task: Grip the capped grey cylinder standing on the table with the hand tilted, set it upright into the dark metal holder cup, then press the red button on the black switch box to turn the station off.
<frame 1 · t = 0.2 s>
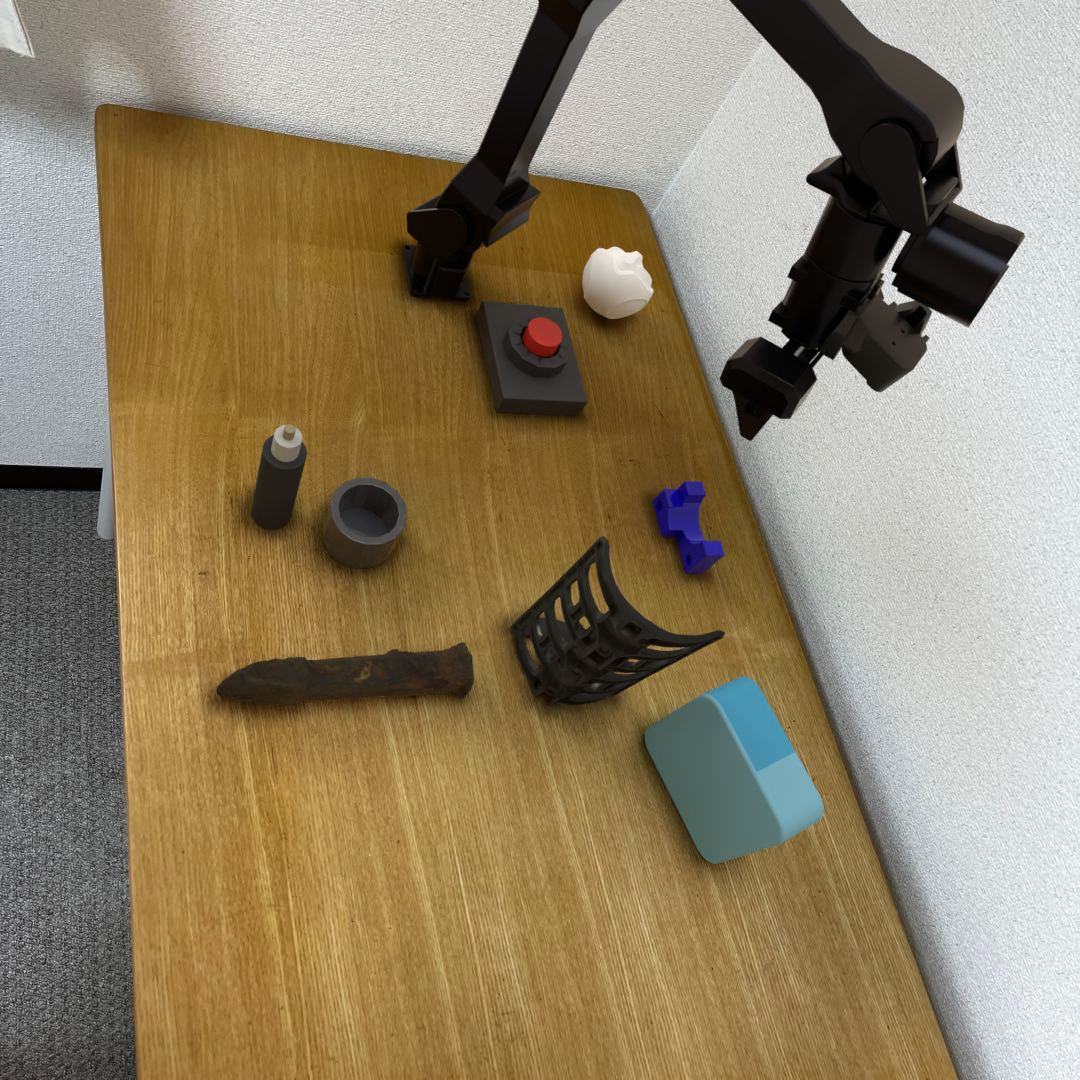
hand: (769, 410, 79), 15 cm above the table, tool pointing down, fingers open, 9 cm apart
cable holder: (676, 537, 89), on the table
data package: (690, 789, 76), on the table
power button: (542, 337, 88), point 5 cm above the table, slide at 0.1 cm
hand tool: (346, 694, 70), on the table
capped grey cylinder: (271, 512, 74), on the table
holder: (556, 675, 77), on the table
iron cup: (358, 535, 76), on the table
switch box: (526, 365, 92), on the table
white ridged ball: (601, 307, 100), on the table
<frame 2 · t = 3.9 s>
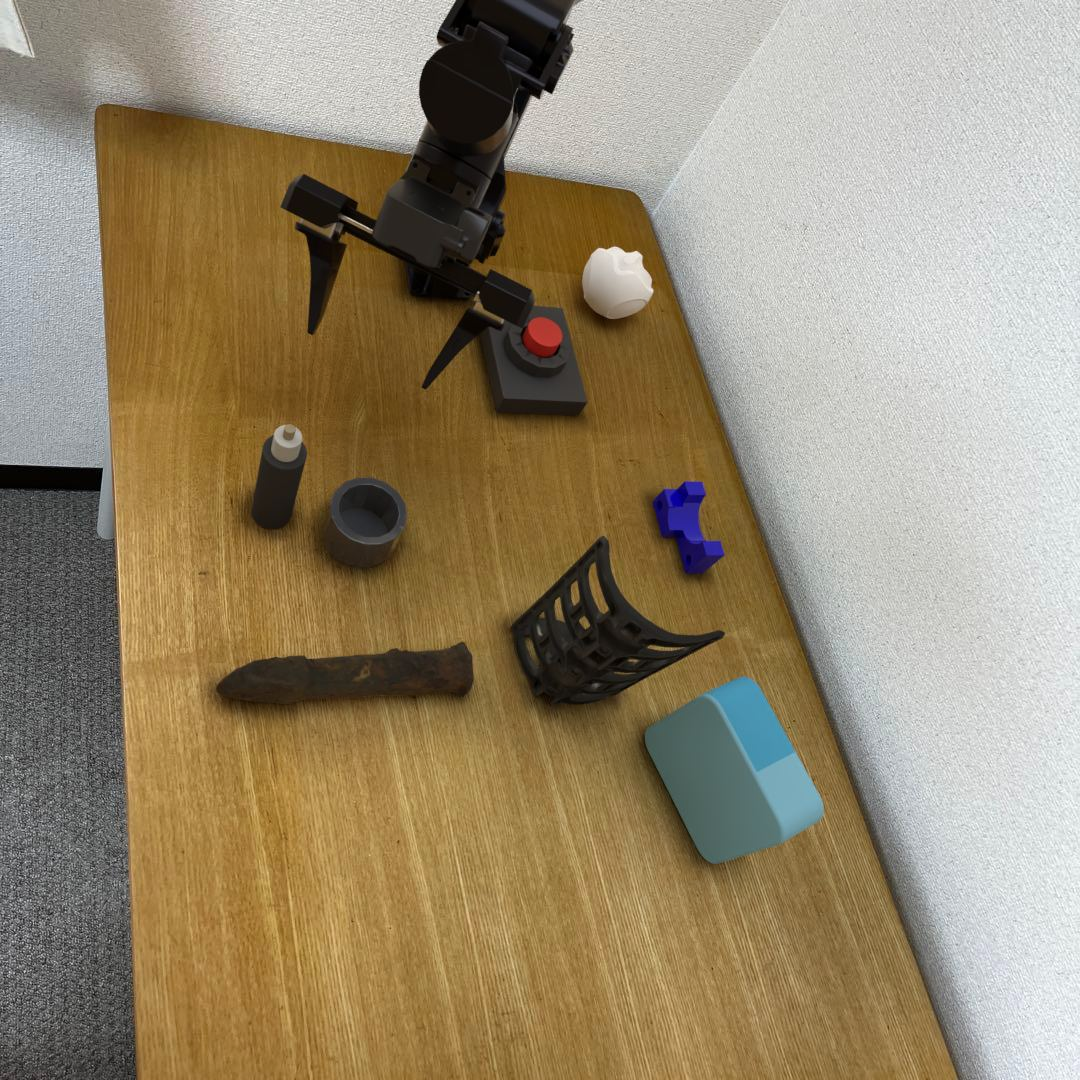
hand: (367, 361, 68), 14 cm above the table, tool tilted 45°, fingers open, 9 cm apart
nothing on the table moved.
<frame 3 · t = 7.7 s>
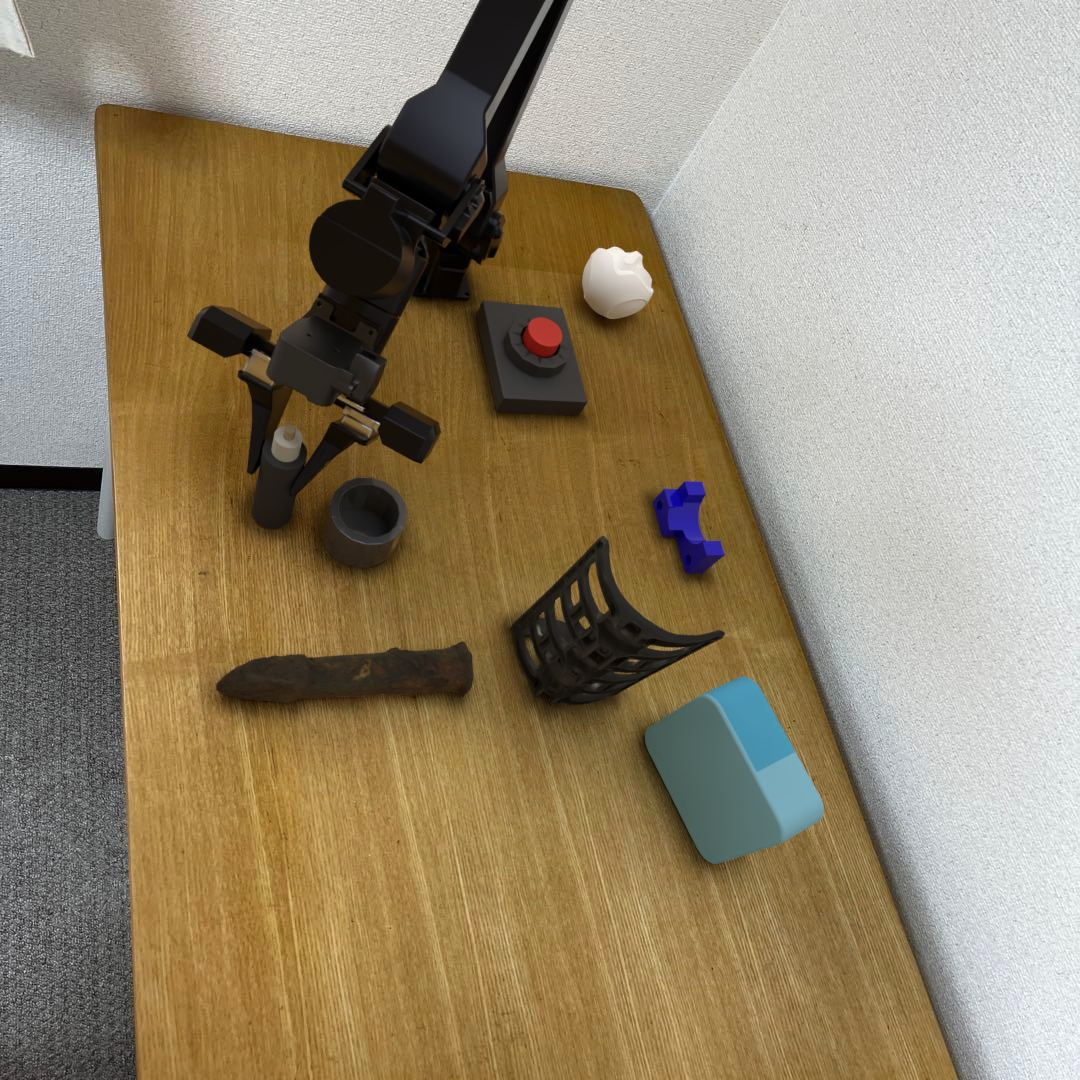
hand: (271, 484, 68), 7 cm above the table, tool tilted 45°, fingers closed on capped grey cylinder, 3 cm apart
capped grey cylinder: (271, 512, 74), on the table, touching gripper
everything else where it was.
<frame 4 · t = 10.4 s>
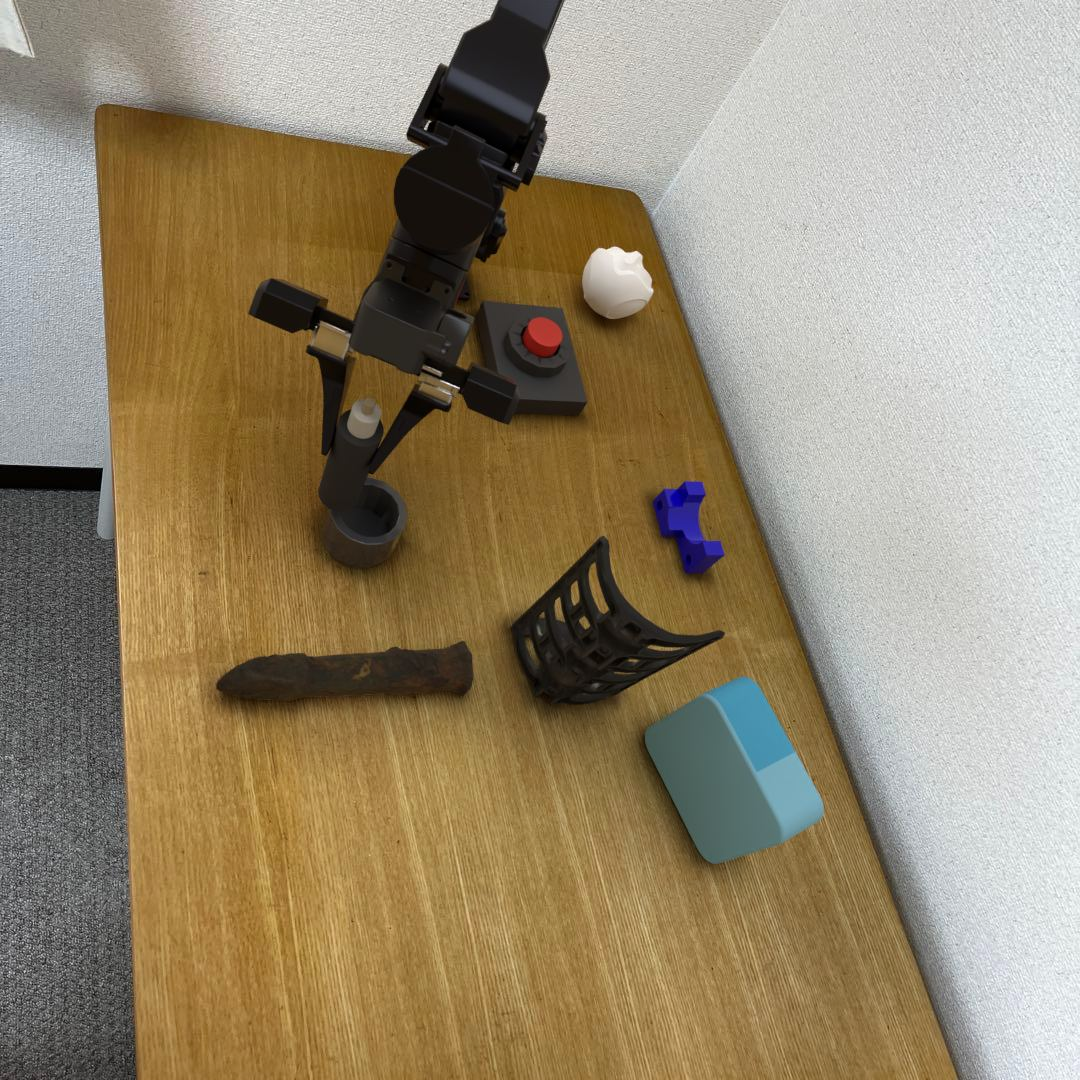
hand: (347, 463, 64), 12 cm above the table, tool tilted 45°, fingers closed on capped grey cylinder, 3 cm apart
capped grey cylinder: (338, 494, 71), point 6 cm above the table, touching gripper
everything else where it was.
when the fingers open (7 cm above the table, at t = 12.9 s): capped grey cylinder stays where it is, resting on iron cup.
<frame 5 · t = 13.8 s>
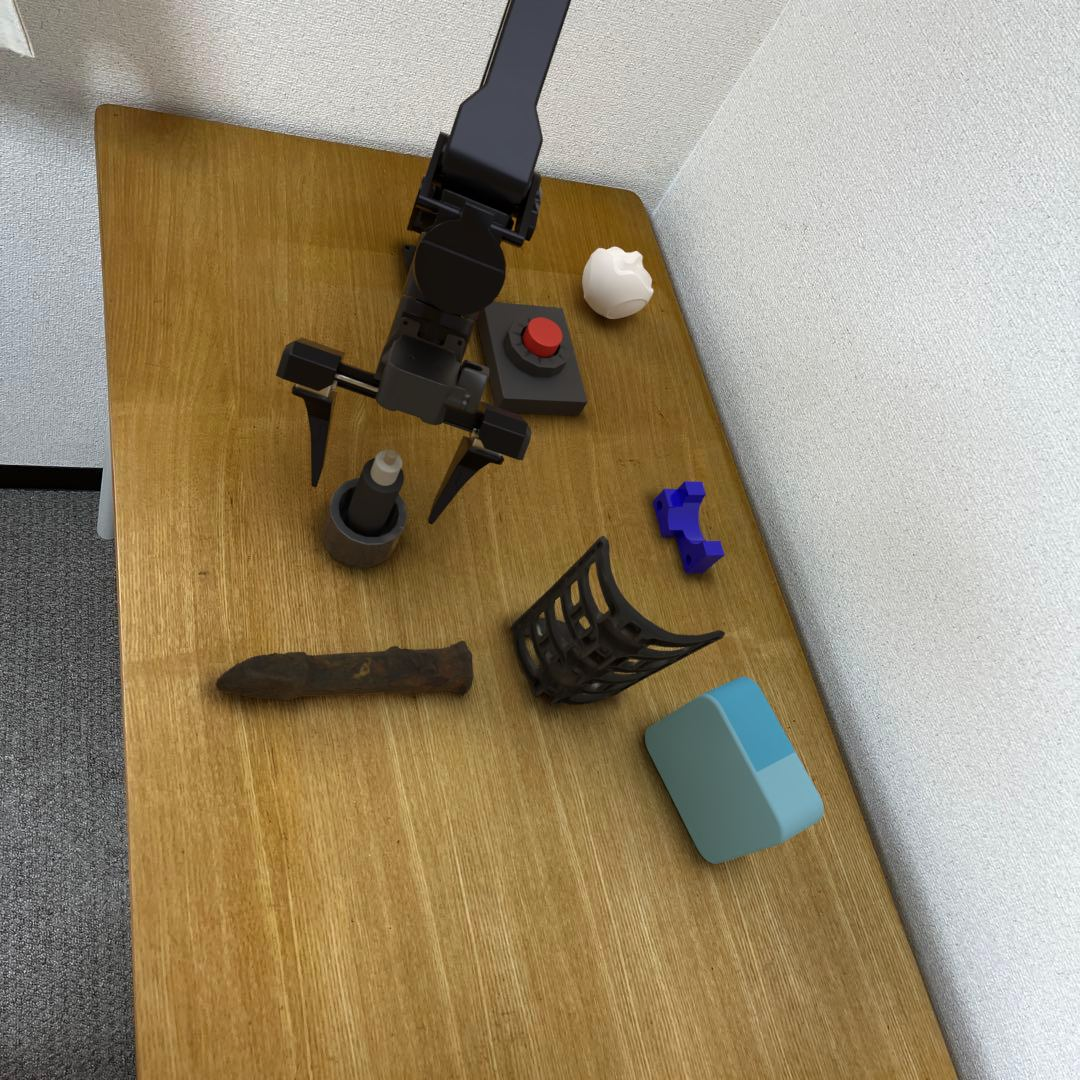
hand: (373, 504, 69), 8 cm above the table, tool tilted 45°, fingers open, 9 cm apart
capped grey cylinder: (360, 532, 76), resting on iron cup
everything else where it was.
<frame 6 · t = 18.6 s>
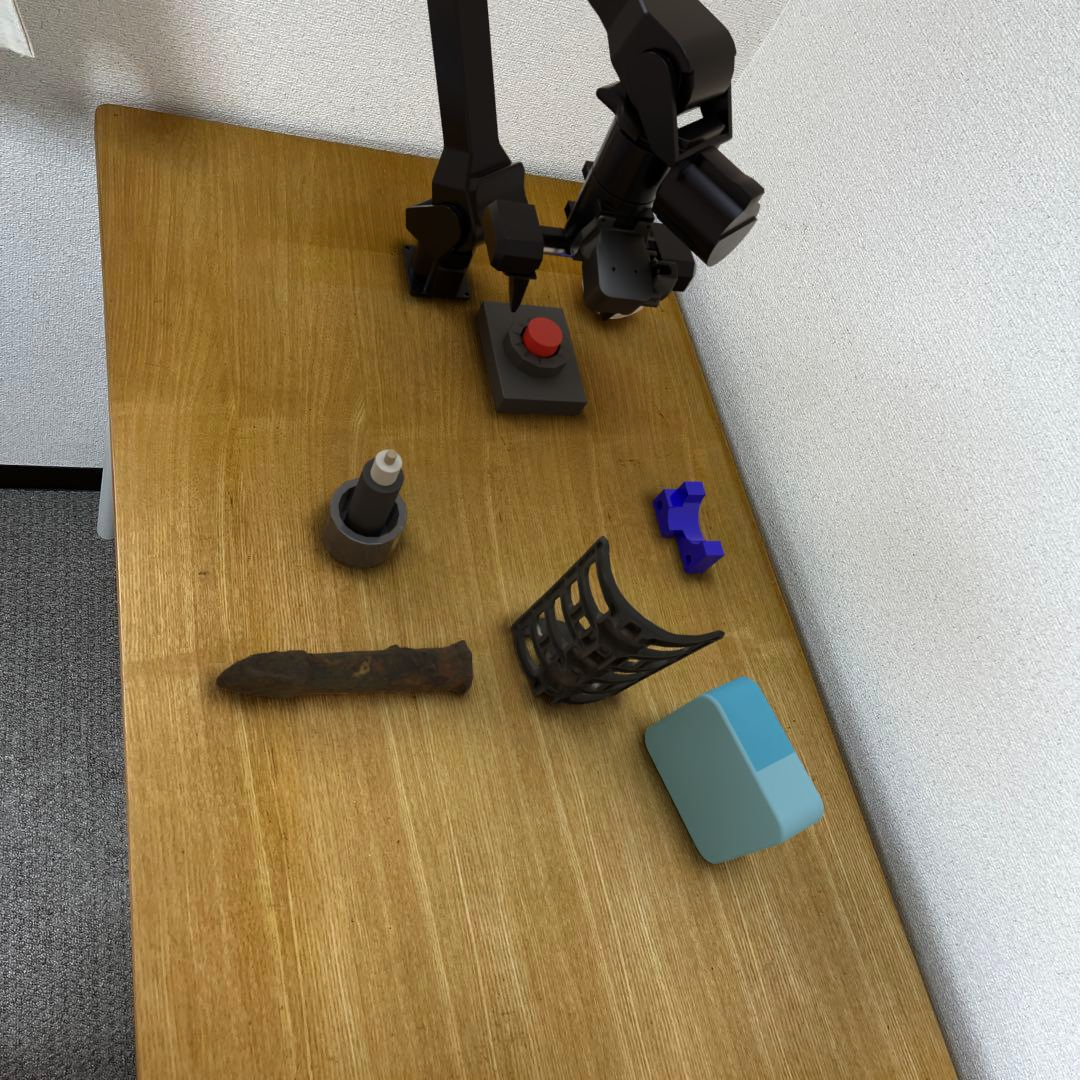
hand: (558, 313, 84), 9 cm above the table, tool pointing down, fingers open, 9 cm apart
nothing on the table moved.
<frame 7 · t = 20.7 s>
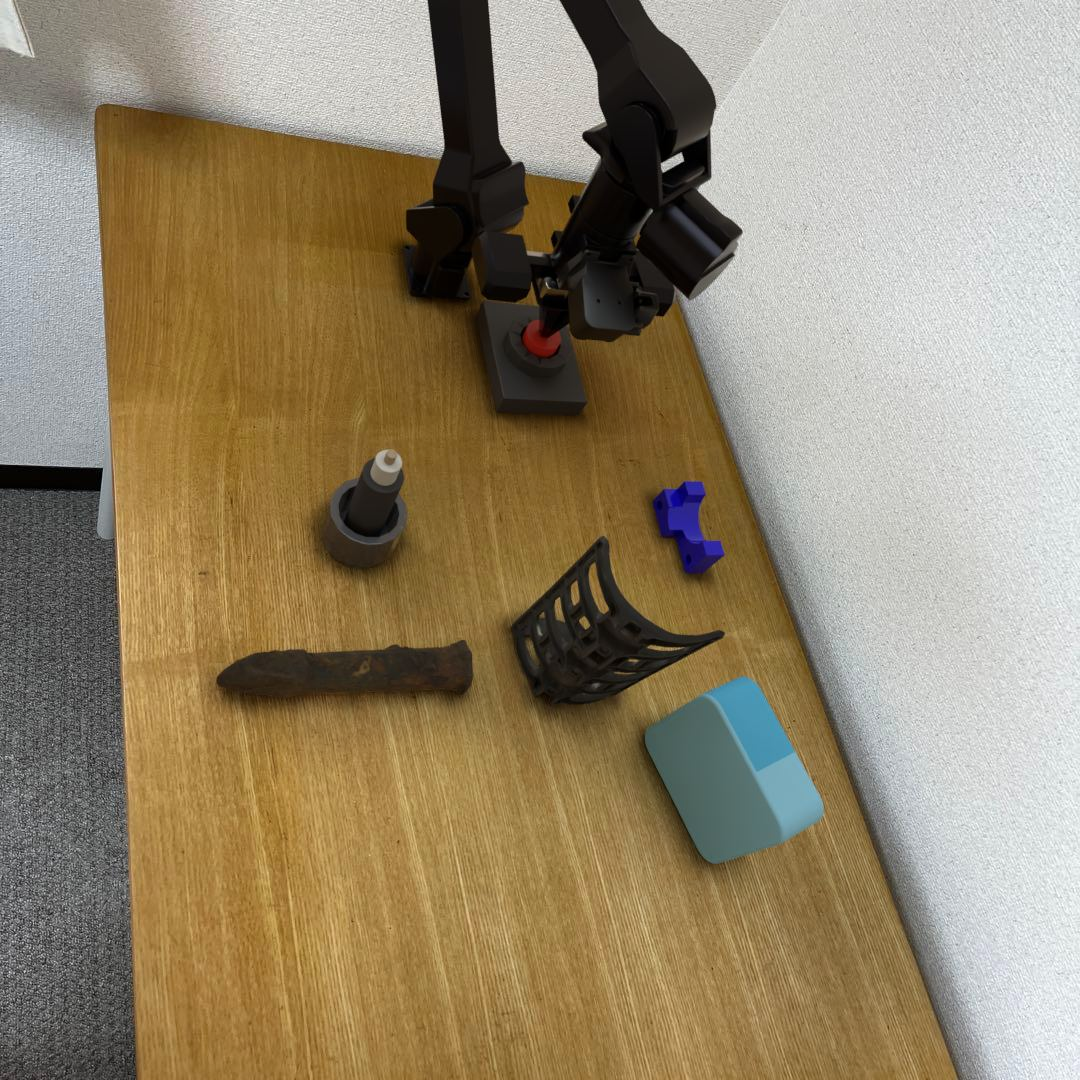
hand: (543, 334, 88), 5 cm above the table, tool pointing down, fingers closed, pressing on power button
power button: (540, 339, 89), point 4 cm above the table, slide at -0.3 cm, touching gripper
everything else where it was.
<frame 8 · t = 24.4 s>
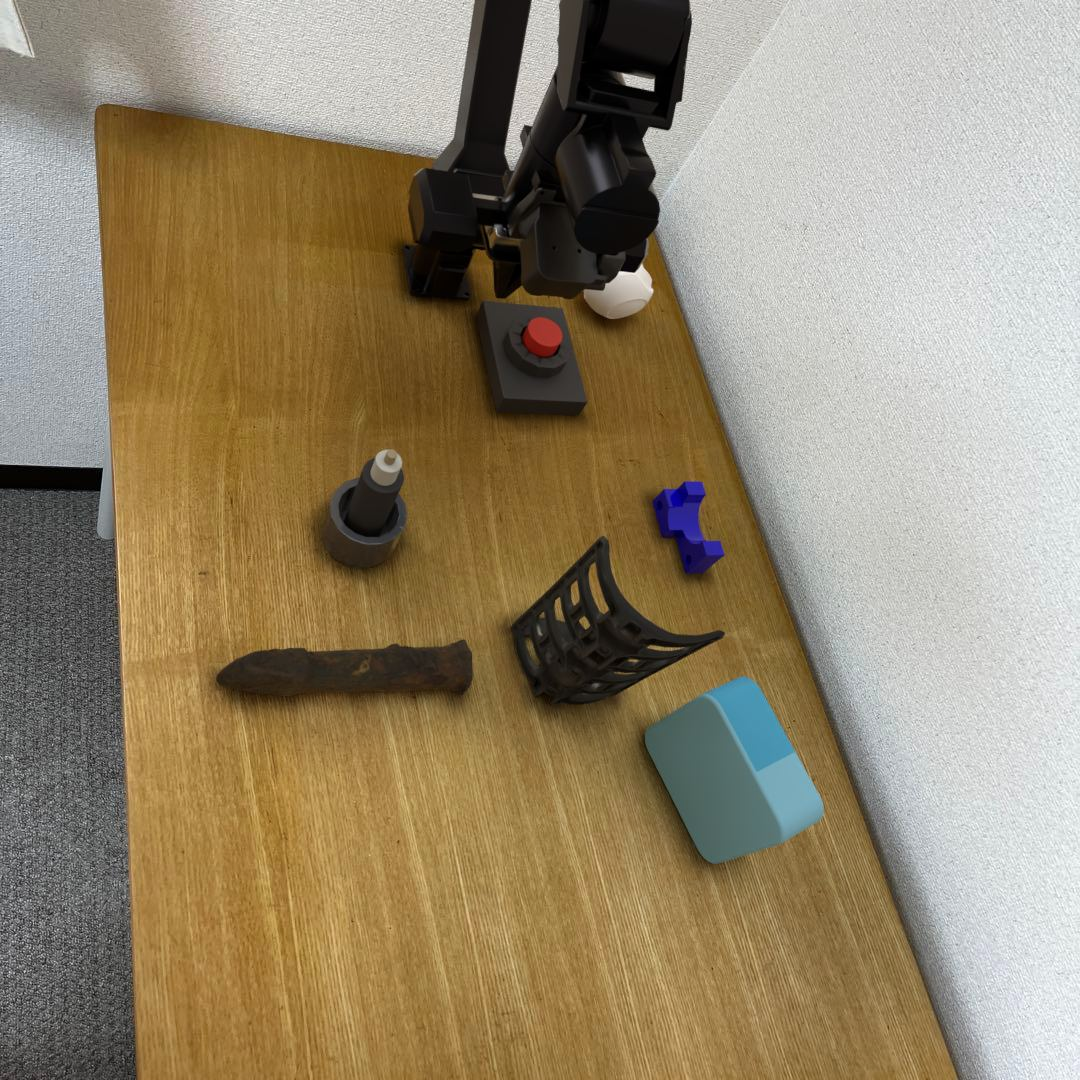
hand: (499, 294, 77), 13 cm above the table, tool pointing down, fingers closed
power button: (542, 337, 88), point 5 cm above the table, slide at 0.1 cm
everything else where it was.
at the end: capped grey cylinder 0.0 cm off-centre in the iron cup, point 0.5 cm above the iron cup's base; capped grey cylinder tilted 0°; power button pushed in 1.0 cm at the most during the clip, back to where it started at the end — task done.
